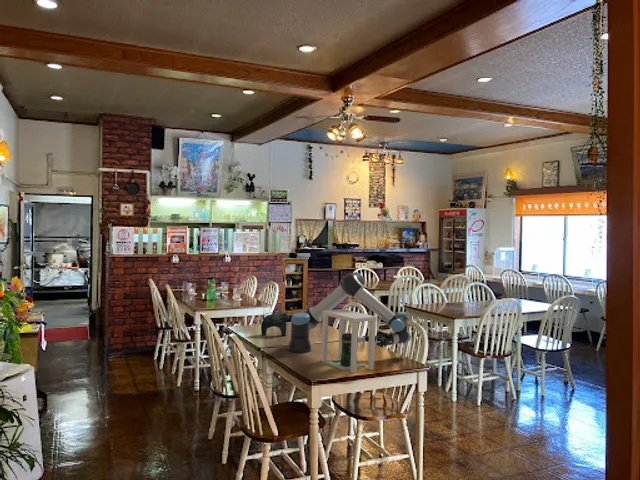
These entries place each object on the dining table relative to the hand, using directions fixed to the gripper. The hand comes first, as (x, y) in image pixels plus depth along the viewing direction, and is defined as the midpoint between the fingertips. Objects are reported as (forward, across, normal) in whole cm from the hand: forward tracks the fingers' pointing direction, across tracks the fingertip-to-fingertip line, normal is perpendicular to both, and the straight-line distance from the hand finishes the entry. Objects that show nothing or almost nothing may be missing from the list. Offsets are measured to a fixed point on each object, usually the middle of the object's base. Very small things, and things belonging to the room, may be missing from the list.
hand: (364, 342), depth 306 cm
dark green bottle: (+12, -1, -12) cm, 17 cm away
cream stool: (+13, 0, -12) cm, 18 cm away
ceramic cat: (+7, +90, -12) cm, 91 cm away
